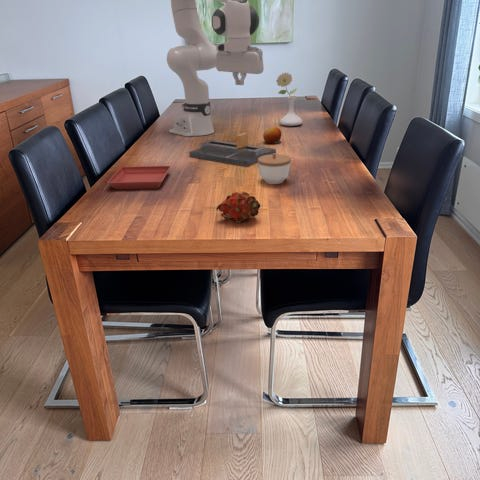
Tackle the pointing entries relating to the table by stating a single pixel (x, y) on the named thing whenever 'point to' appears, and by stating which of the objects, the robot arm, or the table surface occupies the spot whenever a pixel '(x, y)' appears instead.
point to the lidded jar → (274, 168)
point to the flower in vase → (290, 117)
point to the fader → (242, 140)
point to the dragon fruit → (239, 207)
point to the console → (230, 153)
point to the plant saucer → (139, 177)
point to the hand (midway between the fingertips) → (239, 84)
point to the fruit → (272, 135)
